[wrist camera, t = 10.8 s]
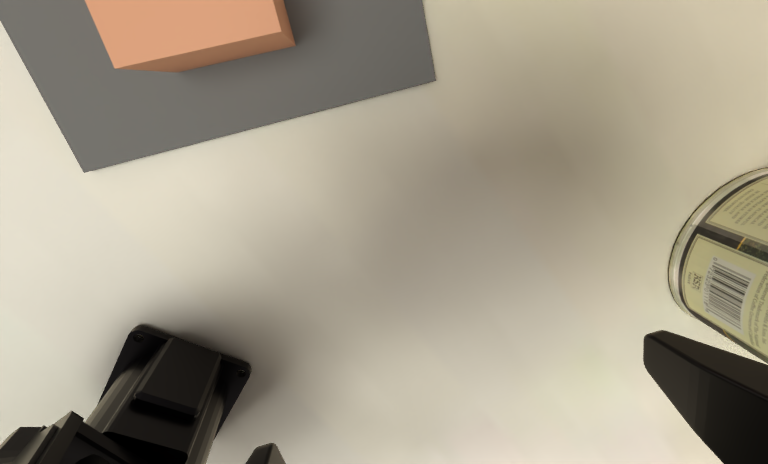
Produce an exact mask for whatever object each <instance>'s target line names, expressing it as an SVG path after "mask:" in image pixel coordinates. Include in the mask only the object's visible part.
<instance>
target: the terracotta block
mask: <svg viewBox="0 0 768 464" xmlns="http://www.w3.org/2000/svg"><path fill="white" fill-rule="evenodd" d="M85 2H86V4H87V7H88V9H89V11H90V14H91V16H92V18H93V20H94V23H95V25H96V27H97V29H98V32H99V34H100V36H101V39H102V41H103V43H104V45H105V48H106V50H107V52H108V54H109V57H110V59H111V61H112V63H113V66H114V68H115V69H129V70H145V71H161V72H182V71H186V70H191V69H195V68H199V67H204V66H208V65H213V64H217V63H222V62H226V61H231V60H235V59H240V58H244V57H248V56H253V55H257V54H262V53H266V52H271V51H275V50H280V49H284V48H288V47H293V46H296V45H295V41H294V37H293V34H292V30H291V26H290V22H289V19H288V15H287V11H286V8H285V4H284V0H85Z"/></svg>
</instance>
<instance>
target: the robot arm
mask: <svg viewBox="0 0 768 464" xmlns="http://www.w3.org/2000/svg"><path fill="white" fill-rule="evenodd" d="M137 334H140V335H142V336H143V337H144V338H140V337H139V336H138V335H137ZM643 361H644V365H645V368H646V369H647V371H648V373H649V374H650V375H651V377H652V378H653V379H654V380H655V382H656V383H657V384H658V386H659V387H660V388H661V389H662V391H663V392H664V393H665V395H666V396H667V397H668V399H669V400H670V401H671V402H672V404H673V405H674V406H675V408H676V409H677V410H678V411H679V413H680V414H681V415H682V417H683V418H684V419H685V421H686V422H687V423H688V424H689V425H690V427H691V428H692V429H693V430H694V432H695V433H696V434H697V435H698V436H699V437H700V438H701V439H702V441H703V442H704V443H705V444H706V445H707V446H708V447H709V448H710V449H711V450H712V451H713V452H714V454H715V455H716V456H717V457H718V458H719V459H720V460H721V461H722V462H723V463H724V464H768V365H766V364H763V363H760V362H757V361H754V360H751V359H748V358H745V357H742V356H739V355H736V354H733V353H730V352H728V351H725V350H722V349H719V348H716V347H713V346H710V345H707V344H704V343H701V342H698V341H695V340H692V339H689V338H686V337H683V336H680V335H677V334H674V333H671V332H668V331H664V330H660V331H656V332H653V333H649V334H647V335H645V337H644V353H643ZM238 370H243V371H245V372H240V371H238ZM251 370H252V368H251V366H250V364H248V363H247V362H244V361H241V360H239V359H236V358H233V357H230V356H227V355H224V354H222V353H219V352H216V351H213V350H210V349H208V348H205V347H202V346H199V345H196V344H193V343H191V342H188V341H185V340H182V339H179V338H177V337H174V336H171V335H168V334H165V333H162V332H160V331H157V330H154V329H151V328H148V327H146V326H137V327H135V328H134V329H133V330H132V331H131V332H130V334H129V335H128V337H127V339H126V342H125V344H124V346H123V348H122V351H121V353H120V355H119V357H118V360H117V362H116V364H115V366H114V369H113V371H112V373H111V375H110V378H109V380H108V382H107V385H106V387H105V389H104V391H103V394H102V396H101V398H100V400H99V403H98V405H97V407H96V408H95V409H94V411H93V412H92V414H91V415H90V416H89V418H88V419H87V420H86V422H83V419H84V418H82V417H81V416H79V415H78V414H76V413H75V412H73V411H70V412H69V413H68V414H66V415H65V416H64V417H63V418H61V419H60V420H59V421H57V422H56V423H55V424H52V425H51V426H49V427H46V426H42V427H20V428H18V429H17V430H16V431H15V432H13V433H12V434H11V435H9V436H8V438H7V439H6V440H5V441H4V442H3V443H2V444H1V445H0V464H206V461H207V458H208V455H209V452H210V449H211V446H212V443H213V440H214V439H215V437H216V435H217V433H218V432H219V430H220V428H221V426H222V424H223V423H224V421H225V419H226V417H227V416H228V414H229V412H230V410H231V409H232V407H233V405H234V403H235V401H236V400H237V398H238V396H239V394H240V393H241V391H242V389H243V387H244V386H245V384H246V382H247V380H248V379H249V377H250V373H251ZM246 464H286V463H285V461H284V459H283V457H282V455H281V453H280V451H279V449H278V447H277V446H276V444H274V443H269V444H266V445H262V446H259V447H257V448H256V449H255V450H254V451H253V453H252V454H251V456H250V458H249V459H248V461H247V462H246Z"/></svg>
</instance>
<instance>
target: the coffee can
mask: <svg viewBox="0 0 768 464" xmlns="http://www.w3.org/2000/svg"><path fill="white" fill-rule="evenodd" d="M669 283H670V289H671V292H672V294H673V297H674V300H675V301H676V303H677V304H678V305H679V306H680V308H681V309H682V310H683V311H685V312H686V313H687V314H689V315H690V316H692V317H694V318H696V319H698V320H700V321H702V322H703V323H705V324H706V325H708V326H709V327H711V328H713V329H714V330H716V331H718V332H719V333H720V334H722V335H724V336H725V337H727V338H728V339H730V340H731V341H733V342H735V343H736V344H738V345H740V346H741V347H743V348H744V349H746V350H747V351H749V352H750V353H752V354H753V355H755V356H756V357H758V358H760V359H761V360H763V361H764V362H766V363H768V168H764V169H760V170H757V171H753V172H750V173H748V174H745V175H743V176H741V177H739V178H737V179H735V180H733V181H731V182H730V183H728V184H727V185H725V186H723V187H722V188H720V189H719V190H718V191H716V192H715V193H714V194H713V195H712V196H711V197H710V198H709V199H707V200H706V201H705V202H704V203H703V204H702V205H701V206H700V207H699V208H698V209H697V210H696V211H695V212H694V214H693V215H692V216H691V218H690V219H689V221H688V222H687V223H686V225H685V226H684V228H683V229H682V231H681V233H680V235H679V237H678V239H677V241H676V243H675V245H674V249H673V253H672V256H671V260H670V266H669Z"/></svg>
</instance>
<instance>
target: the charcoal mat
mask: <svg viewBox="0 0 768 464" xmlns="http://www.w3.org/2000/svg"><path fill="white" fill-rule="evenodd" d="M284 4H285V8H286V11H287V15H288V19H289V22H290V26H291V30H292V34H293V37H294V41H295V45H296V46H293V47H288V48H284V49H280V50H275V51H271V52H266V53H262V54H257V55H253V56H248V57H244V58H240V59H235V60H231V61H226V62H222V63H217V64H213V65H208V66H204V67H199V68H195V69H191V70H186V71H182V72H161V71H145V70H129V69H115V68H114V66H113V63H112V61H111V59H110V57H109V54H108V52H107V50H106V48H105V45H104V43H103V41H102V39H101V36H100V34H99V32H98V29H97V27H96V25H95V23H94V20H93V18H92V16H91V14H90V11H89V9H88V7H87V4H86V2H85V0H0V21H1V22H2V24H3V26H4V28H5V30H6V32H7V33H8V35H9V37H10V39H11V41H12V42H13V44H14V46H15V48H16V50H17V52H18V53H19V55H20V57H21V59H22V61H23V63H24V64H25V66H26V68H27V70H28V72H29V73H30V75H31V77H32V79H33V81H34V83H35V84H36V86H37V88H38V90H39V92H40V93H41V95H42V97H43V99H44V101H45V103H46V104H47V106H48V108H49V110H50V112H51V114H52V115H53V117H54V119H55V121H56V123H57V124H58V126H59V128H60V130H61V132H62V134H63V135H64V137H65V139H66V141H67V143H68V145H69V146H70V148H71V150H72V152H73V154H74V155H75V157H76V159H77V161H78V163H79V165H80V166H81V168H82V170H83V172H84V173H85V172H89V171H93V170H96V169H100V168H104V167H108V166H112V165H116V164H119V163H123V162H127V161H131V160H135V159H139V158H142V157H146V156H150V155H154V154H158V153H161V152H165V151H169V150H173V149H177V148H181V147H184V146H188V145H192V144H196V143H200V142H203V141H207V140H211V139H215V138H219V137H223V136H226V135H230V134H234V133H238V132H242V131H245V130H249V129H253V128H257V127H261V126H265V125H268V124H272V123H276V122H280V121H284V120H287V119H291V118H295V117H299V116H303V115H307V114H310V113H314V112H318V111H322V110H326V109H329V108H333V107H337V106H341V105H345V104H349V103H352V102H356V101H360V100H364V99H368V98H371V97H375V96H379V95H383V94H387V93H391V92H394V91H398V90H402V89H406V88H410V87H413V86H417V85H421V84H425V83H429V82H433V81H436V78H435V72H434V67H433V61H432V55H431V49H430V44H429V38H428V32H427V27H426V21H425V15H424V9H423V4H422V0H284Z"/></svg>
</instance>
